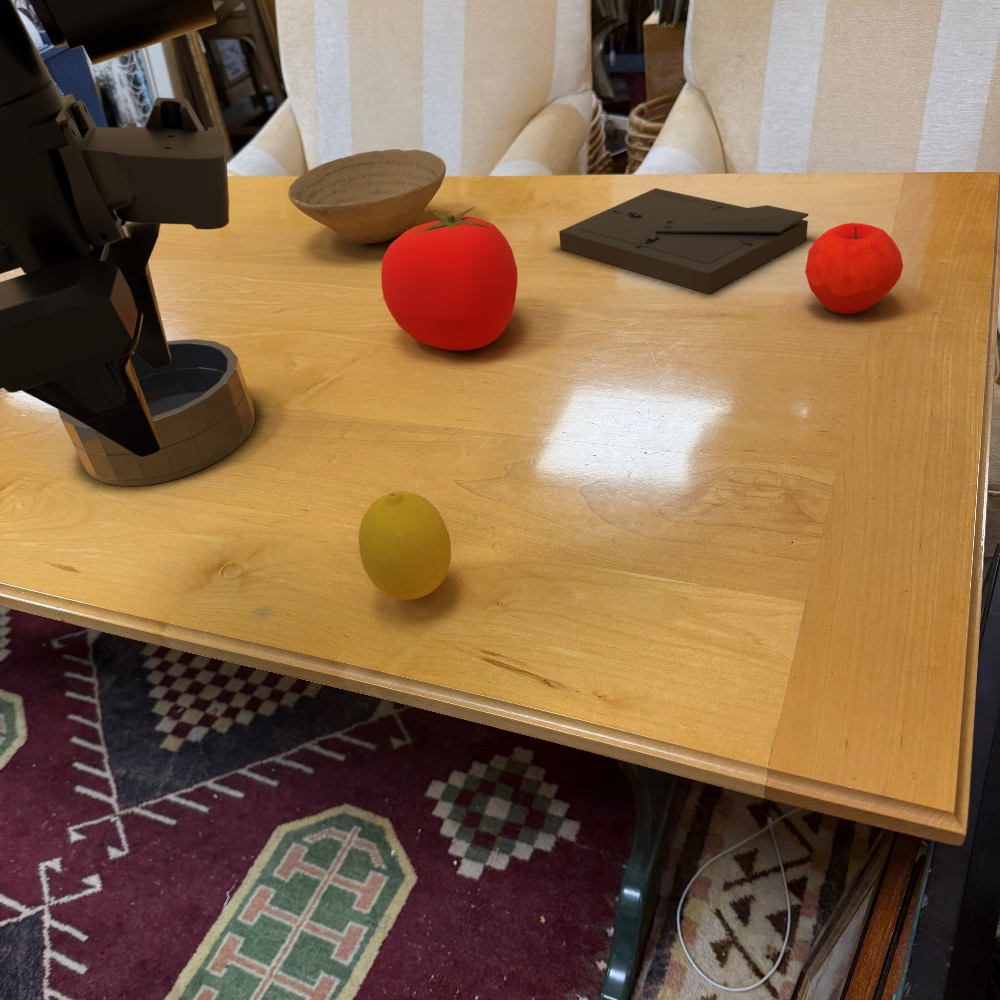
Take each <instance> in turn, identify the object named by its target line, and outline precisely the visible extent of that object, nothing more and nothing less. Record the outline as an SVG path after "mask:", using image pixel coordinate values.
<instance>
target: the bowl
mask: <svg viewBox="0 0 1000 1000" xmlns="http://www.w3.org/2000/svg"><path fill="white" fill-rule="evenodd" d="M446 171H447V165H446V163H445V161H444V160H443V159H442V158H441V157H440V156H438V155H436V154H434V153H432V152H430V151H425V150H419V149H409V150H407V149H406V150H402V149H400V148H396V149H395V148H393V149H392V148H391V149H385V150H372V151H364V152H359V153H355V154H352V155H347V156H345V157H339V158H336V159H334V160H331V161H330V160H329V161H328V162H324V163H322V164H319V165H317V166H315V167H314V168H313V167H312V168H311V169H309V170H308V171H306V172H304V173H303V174H301V175H300V176H299V177H297V178H296V179H295V180H294V181H293V182H292V183H291V185H289V187H288V194H287V195H288V198H289V200H290V202H291V203H292V204H293V205H294V206H295V207H296V208H297V209H298V210H299V211H300V212H302V213H303V214H304V215H306V216H307V217H309V218H311V219H313V220H314V221H316V222H317V223H319V224H321V225H323V226H325V227H327V228H329V229H330V230H332V231H333V232H334V233H336V234H338V235H339V236H340V237H342V238H343V239H344V240H347V241H349V242H352V243H356V244H363V245H367V244H369V245H370V244H376V243H383V242H387V241H389V240H391V239H394V238H396V237H397V236H400V235H402V234H403V233H404V232H406V231H407V230H409V229H410V227H412V225H414V224H415V223H416V221H418V220H419V218H420V217H421V215H422V214H423V213H424V212H425V210H426V209H427V207H428V205H429V204H430V203H431V201H432V200H433V199H434V197H435V195H436V194H437V193H438V191H439V190H440V188H441V186H442V185H443V182H444V180H445V177H446Z"/></svg>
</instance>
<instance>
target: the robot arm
mask: <svg viewBox="0 0 1000 1000" xmlns="http://www.w3.org/2000/svg"><path fill="white" fill-rule="evenodd" d="M29 3H30V5H31V7H32V9H33V11H34V13H35V14H36V17H37V18H38V20H39V23H40V24H41V26H42V28H43V30H44V32H45V34H46V36H47V37H48V39H49V41H50V43H51V44H52V46H53V47H54V48H55V49H57V48H61V47H64V46H68V48H69V49H70V50H71V51H72V50H75V49H77V48H80V47H83V49H84V51H85V53H86V55H87V57H88V59H89V60H90V62H91V64H92V65H93V66H95V65H98V64H102V63H104V62H107V61H110V60H113V59H116V58H119V57H122V56H124V55H127V54H130V53H134V52H136V51H139V50H142V49H145V48H148V47H151V46H154V45H157V44H160V43H163V42H167V41H169V40H171V39H175V38H177V37H180V36H184V35H186V34H190V33H193V32H195V31H198V30H201V29H204V28H207V27H210V26H213V25H216V24H217V22H218V20H217V13H216V11H215V6H214V2H213V0H29ZM194 110H195V109H193V107H192V105H191V103H190V102H189V100H188V99H186V98H176V97H174V98H173V97H160V96H159V97H156V98H155V99H154V102H153V105H152V107H151V109H150V112H149V114H148V117H147V119H146V121H145V124H144V126H138V125H137V123H136V122H127V123H126V126H125V127H111V126H110V127H106V126H105V127H104V126H103V127H101V126H97V125H96V123H95V121H94V119H93V118H92V116H91V115H92V114H91V113H90V112H89V109H88V108H87V105H86V104H85V102H84V101H83V100H82V99H79V100H76V98H75V96H74V94H73V93H70V94H66V95H63V96H62V94H61V93H60V91H59V89H58V87H57V85H56V83H55V80H54V79H53V78H52V75H51V73H50V72H49V70H48V68H47V65H46V64H45V62H44V59H43V58H42V55H41V54H40V52H39V50H38V48H37V46H36V44H35V42H34V39H33V38H32V36H31V35H30V33H29V31H28V28H27V26H26V24H25V23H24V20H23V19H22V16H21V15H20V12H19V11H18V9H17V7H16V5H15V2H13V0H0V275H2V274H5V273H8V272H11V271H14V270H17V269H21V270H22V273H23V274H20V275H17V276H14V277H11V278H9V279H4V280H2V281H0V390H1V389H4V391H6V392H7V393H10V394H11V393H18V392H23V393H25V394H27V395H29V396H31V397H33V398H35V399H37V400H39V401H41V402H43V403H45V404H47V405H48V406H51V407H53V408H55V409H57V410H58V409H59V410H61V411H62V412H64V413H66V414H68V415H70V416H71V417H73V418H75V419H77V420H78V421H80V422H82V423H84V424H85V425H87V426H89V427H90V428H92V429H94V430H95V431H97V432H99V433H100V434H102V435H104V436H105V437H107V438H109V439H110V440H112V441H114V442H115V443H117V444H119V445H120V446H122V447H124V448H125V449H127V450H129V451H130V452H132V453H134V454H135V455H137V456H139V457H145V456H148V455H151V454H154V453H157V452H159V451H160V448H161V443H160V440H159V437H158V434H157V431H156V428H155V425H154V422H153V419H152V417H151V414H150V411H149V409H148V406H147V403H146V401H145V398H144V395H143V392H142V390H141V387H140V384H139V382H138V379H137V376H136V374H135V371H134V368H133V366H132V363H131V360H130V357H131V354H132V352H134V353H135V354H137V355H138V356H139V357H140V358H141V359H142V360H143V361H144V362H146V363H147V364H148V365H149V366H150V367H151V368H153V369H159V368H162V367H165V366H168V365H170V363H171V355H170V351H169V347H168V343H167V341H168V339H167V335H166V333H165V328H164V324H163V319H162V315H161V311H160V307H159V304H158V303H159V302H158V299H157V296H156V290H155V288H154V283H153V277H152V273H151V270H150V265H149V261H150V258H151V256H152V253H153V252H154V249H155V245H156V244H157V241H158V238H159V235H160V230H161V225H189V226H192V227H193V228H194V229H196V230H217V229H222V228H224V227H226V226H227V225H228V224H229V223H230V194H229V177H228V161H227V160H228V159H227V143H226V142H227V141H226V135H224V134H222V133H220V132H218V128H217V127H211V126H209V127H207V130H205V128H204V126H203V125H202V122H201V121H200V119H199V118H198V116H197V113H196V112H195V111H194Z"/></svg>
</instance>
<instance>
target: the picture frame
mask: <svg viewBox="0 0 1000 1000" xmlns="http://www.w3.org/2000/svg"><path fill="white" fill-rule="evenodd" d="M807 217H809V213H807V212H801V211H798V210H797V211H796V210H794V209H793V210H792V209H788V208H784V207H783V208H782V207H778V206H773V205H768V204H765V205H759V206H750V207H746V206H740V205H735V204H732V203H727V202H722V201H717V200H713V199H708V198H704V197H699V196H694V195H689V194H684V193H680V192H675V191H672V190H666V189H662V188H657V187H655V188H652V189H651V190H648V191H645V192H644V193H642V194H639V195H637V196H635V197H632V198H631V199H628V200H626V201H624V202H622V203H619V204H617V205H614V206H612V207H610V208H608V209H606V210H604V211H601V212H599V213H597V214H594V215H592V216H590V217H588V218H585V219H583V220H581V221H579V222H577V223H574V224H572V225H570V226H567V227H565V228H563V229H561V230H559V231H558V233H559V234H558V235H559V247H560V250H561V251H565V252H568V253H572V254H575V255H578V256H582V257H585V258H589V259H591V260H594V261H597V262H598V261H599V262H601V263H605V264H608V265H611V266H615V267H618V268H621V269H625V270H627V271H628V270H629V271H631V272H635V273H638V274H642V275H644V276H648V277H651V278H655V279H658V280H661V281H664V282H667V283H668V282H669V283H672V284H675V285H678V286H682V287H685V288H689V289H691V290H695V291H698V292H702V293H704V294H711V293H713V292H715V291H717V290H719V289H721V288H722V287H724V286H725V285H728V284H729V283H731V282H733V281H735V280H737V279H738V278H740V277H742V276H744V275H746V274H748V273H749V272H751V271H753V270H755V269H757V268H759V267H761V266H762V265H764V264H766V263H768V262H769V261H770V262H771V260H773V259H775V258H777V257H779V256H781V255H782V254H784V253H786V252H788V251H790V250H792V249H793V248H795V247H797V246H799V245H801V244H803V243H804V242H806V241H807V237H808V226H809V225H808V224H809V221H808V220H806V219H805V218H807Z"/></svg>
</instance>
